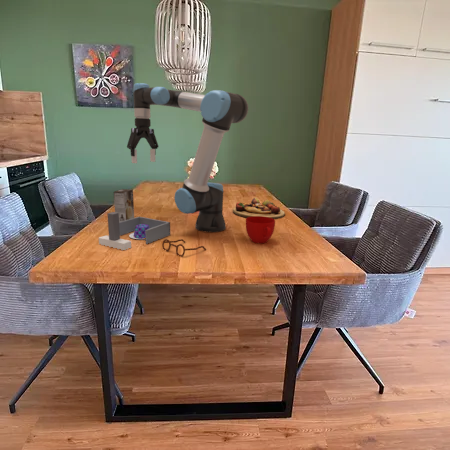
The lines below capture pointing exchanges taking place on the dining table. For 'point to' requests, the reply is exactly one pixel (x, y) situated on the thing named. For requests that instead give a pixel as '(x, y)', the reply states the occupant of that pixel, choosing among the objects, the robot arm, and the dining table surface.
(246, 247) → the dining table surface
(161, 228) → the bin
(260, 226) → the ceramic cup
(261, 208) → the wooden plate with food
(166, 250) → the glasses
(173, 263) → the dining table surface
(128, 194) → the coffee box
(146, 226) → the pudding
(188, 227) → the dining table surface
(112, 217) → the scraper
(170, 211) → the dining table surface
